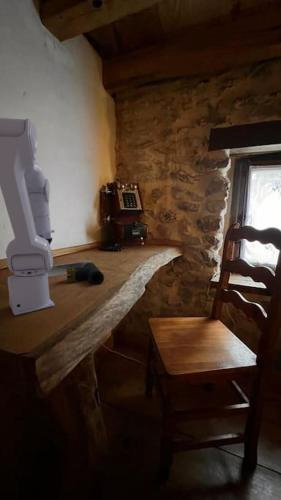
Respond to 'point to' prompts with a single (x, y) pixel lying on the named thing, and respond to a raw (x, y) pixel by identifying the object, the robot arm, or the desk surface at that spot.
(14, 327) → the desk surface
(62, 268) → the guide dock
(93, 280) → the pipe connector
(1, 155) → the robot arm
